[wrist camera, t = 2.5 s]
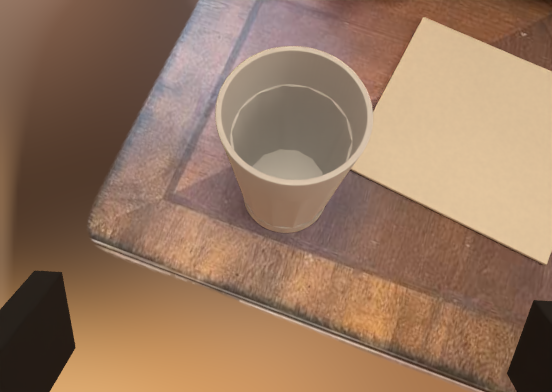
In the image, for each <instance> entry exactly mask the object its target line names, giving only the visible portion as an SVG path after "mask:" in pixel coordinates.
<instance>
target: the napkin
mask: <svg viewBox="0 0 552 392" xmlns="http://www.w3.org/2000/svg"><path fill="white" fill-rule="evenodd" d="M350 170H351V171H353V172H355V173H358V174H360V175H362V176H364V177H366V178H368V179H370V180H372V181H374V182H376V183H378V184H380V185H382V186H384V187H386V188H388V189H390V190H392V191H394V192H396V193H398V194H400V195H402V196H404V197H406V198H408V199H410V200H413V201H415V202H417V203H419V204H421V205H423V206H425V207H427V208H429V209H431V210H433V211H435V212H437V213H439V214H441V215H443V216H445V217H447V218H449V219H451V220H453V221H455V222H457V223H459V224H461V225H463V226H465V227H467V228H470V229H472V230H474V231H476V232H478V233H480V234H482V235H484V236H486V237H488V238H490V239H492V240H494V241H496V242H498V243H500V244H502V245H504V246H506V247H508V248H510V249H512V250H514V251H516V252H518V253H520V254H522V255H525V256H527V257H529V258H531V259H533V260H535V261H537V262H539V263H541V264H543V265H547V262H548V259H549V256H550V253H551V250H552V72H551V71H549V70H547V69H544V68H542V67H540V66H537V65H535V64H533V63H530V62H528V61H526V60H523V59H521V58H519V57H516V56H514V55H511V54H509V53H507V52H504V51H502V50H500V49H497V48H495V47H493V46H490V45H488V44H486V43H483V42H481V41H479V40H476V39H474V38H472V37H469V36H467V35H465V34H462V33H460V32H458V31H455V30H453V29H451V28H448V27H446V26H444V25H441V24H439V23H437V22H434V21H432V20H430V19H427V18H425V17H423V18H422V20H421V22H420V24H419V26H418V28H417V30H416V32H415V34H414V35H413V37H412V39H411V41H410V43H409V45H408V47H407V49H406V51H405V52H404V54H403V56H402V58H401V60H400V62H399V64H398V66H397V68H396V69H395V71H394V73H393V75H392V77H391V79H390V81H389V83H388V85H387V86H386V88H385V90H384V92H383V94H382V96H381V98H380V100H379V102H378V103H377V105H376V107H375V109H374V111H373V127H372V132H371V136H370V139H369V141H368V144H367V146H366V148H365V149H364V151H363V153H362V154H361V155H360V157H359V158H358V160H357V161H356V162H355V164H354V165H353V166H352V168H351V169H350Z"/></svg>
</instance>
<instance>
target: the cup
mask: <svg viewBox="0 0 552 392" xmlns="http://www.w3.org/2000/svg"><path fill="white" fill-rule="evenodd" d="M215 120H216V127H217V131H218V134H219V137H220V140H221V142H222V144H223V147H224V149H225V151H226V154H227V156H228V159H229V161H230V164H231V166H232V169H233V171H234V174H235V177H236V179H237V182H238V184H239V187H240V190H241V192H242V195H243V198H244V203H245V206H246V209H247V211H248V212H249V214H250V215H251V217H252V218H253V219H254V220H255V221H256V222H257V223H258V224H259V225H261V226H262V227H264V228H266V229H268V230H271V231H274V232H279V233H293V232H297V231H301V230H303V229H305V228H307V227H309V226H310V225H312V224H313V223H314V222H315V221H316V220H317V219H318V218H319V217H320V215H321V214H322V212H323V210H324V208H325V206H326V204H327V203H328V201H329V200H330V198H331V197H332V195H333V194H334V192H335V191H336V189H337V188H338V186H339V185H340V183H341V182H342V180H343V179H344V177H345V176H346V175H347V173H348V172H349V171H350V169H351V168H352V166H353V165H354V164H355V162H356V161H357V160H358V158H359V157H360V155H361V154H362V153H363V151H364V149H365V148H366V146H367V144H368V141H369V139H370V136H371V132H372V127H373V109H372V104H371V100H370V97H369V94H368V92H367V90H366V88H365V86H364V84H363V82H362V81H361V80H360V78H359V77H358V76H357V74H356V73H355V72H354V71H353V70H352V69H351V68H350V67H348V66H347V65H346V64H345V63H343V62H342V61H341V60H339V59H337V58H336V57H334V56H332V55H330V54H328V53H325V52H323V51H320V50H317V49H313V48H308V47H300V46H284V47H277V48H272V49H268V50H265V51H262V52H259V53H257V54H255V55H253V56H251V57H249V58H248V59H246V60H245V61H243V62H242V63H241V64H239V65H238V66H237V67H236V68H235V69H234V70H233V71H232V72H231V73H230V75H229V76H228V77H227V79H226V80H225V82H224V83H223V85H222V87H221V89H220V92H219V95H218V98H217V102H216V109H215Z"/></svg>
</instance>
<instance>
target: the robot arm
mask: <svg viewBox="0 0 552 392" xmlns="http://www.w3.org/2000/svg"><path fill="white" fill-rule="evenodd" d="M74 349H75V342H74V337H73V331H72V326H71V320H70V314H69V309H68V304H67V298H66V292H65V287H64V281H63V276H62V272H48V271H34V272H33V273H32V274H31V275H30V276H29V278H28V279H27V280H26V281H25V282H24V283H23V284H22V285H21V287H20V288H19V289H18V290H17V291H16V292H15V294H14V295H13V296H12V297H11V298H10V299H9V300H8V302H6V304H5V305H4V306H3V307H2V308H1V309H0V392H50V390H51V388H52V386H53V385H54V383H55V382H56V380H57V378H58V376H59V375H60V373H61V371H62V370H63V368H64V366H65V365H66V363H67V361H68V359H69V358H70V356H71V354H72V353H73V351H74ZM507 374H508V376H509V378H510V380H511V382H512V383H513V385H514V387H515V389H516V391H517V392H552V301H537V300H534V301H533V303H532V306H531V309H530V312H529V314H528V317H527V320H526V323H525V325H524V328H523V331H522V334H521V337H520V339H519V342H518V345H517V348H516V350H515V353H514V356H513V359H512V361H511V364H510V367H509V370H508V372H507Z"/></svg>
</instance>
